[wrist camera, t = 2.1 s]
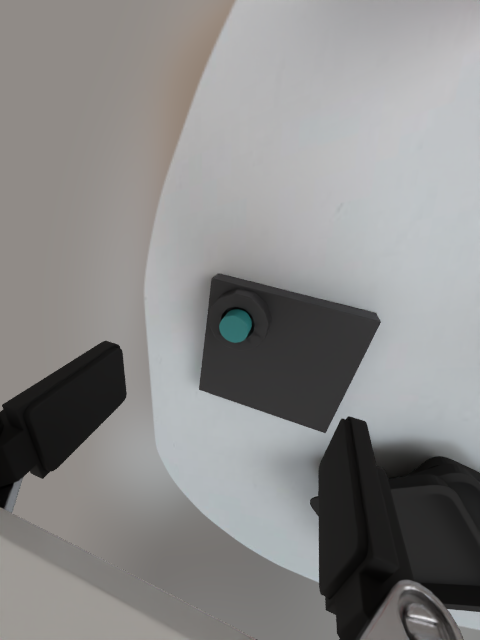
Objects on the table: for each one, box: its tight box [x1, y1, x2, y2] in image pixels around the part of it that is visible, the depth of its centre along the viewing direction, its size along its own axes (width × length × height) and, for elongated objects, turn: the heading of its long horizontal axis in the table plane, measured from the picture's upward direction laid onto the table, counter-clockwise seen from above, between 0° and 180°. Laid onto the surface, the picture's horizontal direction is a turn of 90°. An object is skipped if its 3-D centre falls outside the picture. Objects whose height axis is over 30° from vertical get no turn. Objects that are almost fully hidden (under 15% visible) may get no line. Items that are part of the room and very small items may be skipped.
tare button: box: [219, 309, 252, 343], centre depth 21 cm, size 3×3×2 cm
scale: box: [199, 274, 381, 433], centre depth 25 cm, size 15×14×4 cm
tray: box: [310, 457, 480, 612], centre depth 27 cm, size 30×23×5 cm
